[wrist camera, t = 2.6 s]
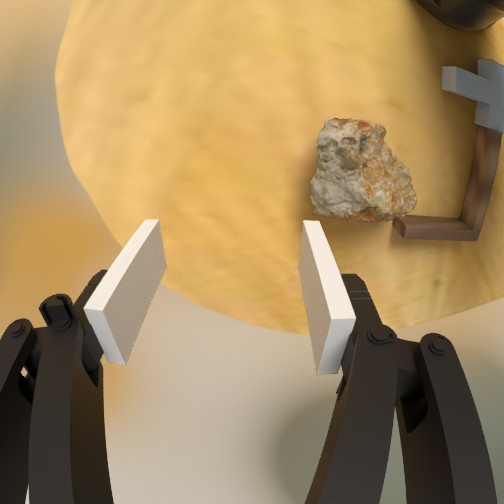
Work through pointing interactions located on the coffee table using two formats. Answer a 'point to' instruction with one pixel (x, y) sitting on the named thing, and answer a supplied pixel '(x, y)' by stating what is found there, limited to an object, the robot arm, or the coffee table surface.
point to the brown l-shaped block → (473, 203)
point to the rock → (359, 174)
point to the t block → (480, 90)
